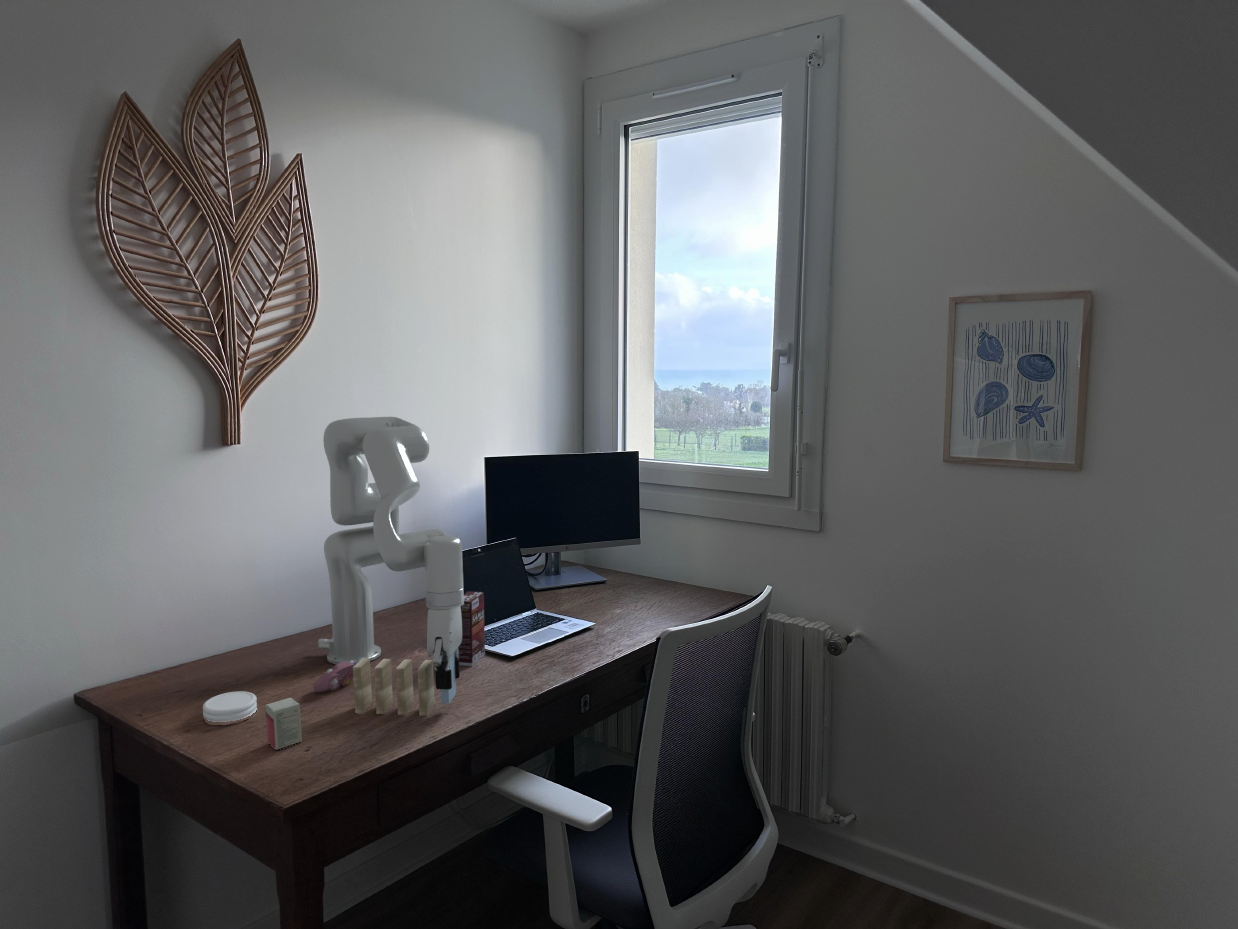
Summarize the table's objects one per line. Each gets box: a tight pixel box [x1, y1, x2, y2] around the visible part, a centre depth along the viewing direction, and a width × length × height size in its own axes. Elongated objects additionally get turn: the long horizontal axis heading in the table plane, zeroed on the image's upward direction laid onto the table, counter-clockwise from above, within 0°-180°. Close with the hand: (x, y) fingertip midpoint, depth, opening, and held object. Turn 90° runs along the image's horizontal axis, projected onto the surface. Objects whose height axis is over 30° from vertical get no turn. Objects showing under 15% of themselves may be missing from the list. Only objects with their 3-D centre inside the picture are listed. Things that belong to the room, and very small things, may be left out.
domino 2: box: [374, 658, 394, 715], centre depth 167 cm, size 2×5×10 cm, turn 176°
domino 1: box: [353, 658, 373, 714], centre depth 168 cm, size 2×5×10 cm, turn 176°
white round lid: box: [202, 690, 258, 722], centre depth 165 cm, size 10×10×4 cm
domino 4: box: [417, 659, 435, 717], centre depth 166 cm, size 2×5×10 cm, turn 176°
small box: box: [264, 697, 303, 748], centre depth 153 cm, size 5×4×8 cm
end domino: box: [440, 652, 457, 705], centre depth 166 cm, size 2×5×10 cm, turn 175°
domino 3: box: [395, 659, 415, 716], centre depth 167 cm, size 2×5×10 cm, turn 176°
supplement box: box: [458, 591, 486, 667], centre depth 195 cm, size 9×5×16 cm, turn 168°
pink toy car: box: [313, 660, 357, 693], centre depth 179 cm, size 10×5×7 cm, turn 149°
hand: (447, 682), depth 166 cm, fingers closed on end domino, 4 cm apart
